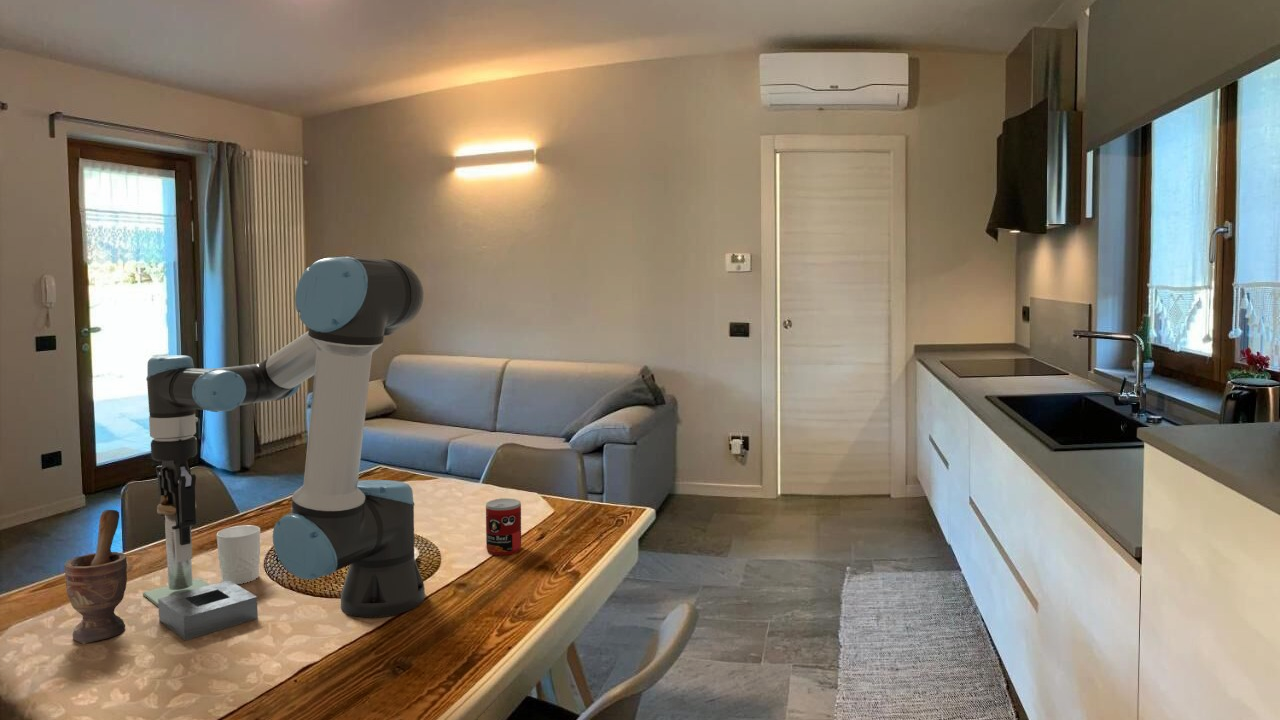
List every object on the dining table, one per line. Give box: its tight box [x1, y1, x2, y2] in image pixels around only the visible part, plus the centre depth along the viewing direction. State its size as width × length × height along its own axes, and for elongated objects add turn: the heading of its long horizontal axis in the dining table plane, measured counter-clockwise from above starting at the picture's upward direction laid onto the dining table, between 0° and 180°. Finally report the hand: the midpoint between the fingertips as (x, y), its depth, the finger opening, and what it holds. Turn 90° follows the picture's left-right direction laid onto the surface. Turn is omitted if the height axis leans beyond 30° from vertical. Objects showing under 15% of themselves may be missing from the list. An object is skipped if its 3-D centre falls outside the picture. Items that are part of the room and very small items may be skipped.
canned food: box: [485, 498, 522, 556], centre depth 177 cm, size 8×8×11 cm
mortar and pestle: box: [64, 509, 128, 645], centre depth 134 cm, size 12×9×20 cm
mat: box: [142, 577, 210, 608], centre depth 151 cm, size 10×10×1 cm
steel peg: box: [156, 495, 197, 590], centre depth 150 cm, size 6×6×18 cm
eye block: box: [158, 580, 259, 642], centre depth 139 cm, size 12×12×4 cm
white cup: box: [216, 524, 261, 585], centre depth 159 cm, size 8×8×10 cm
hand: (179, 557), depth 150 cm, fingers closed on steel peg, 4 cm apart
